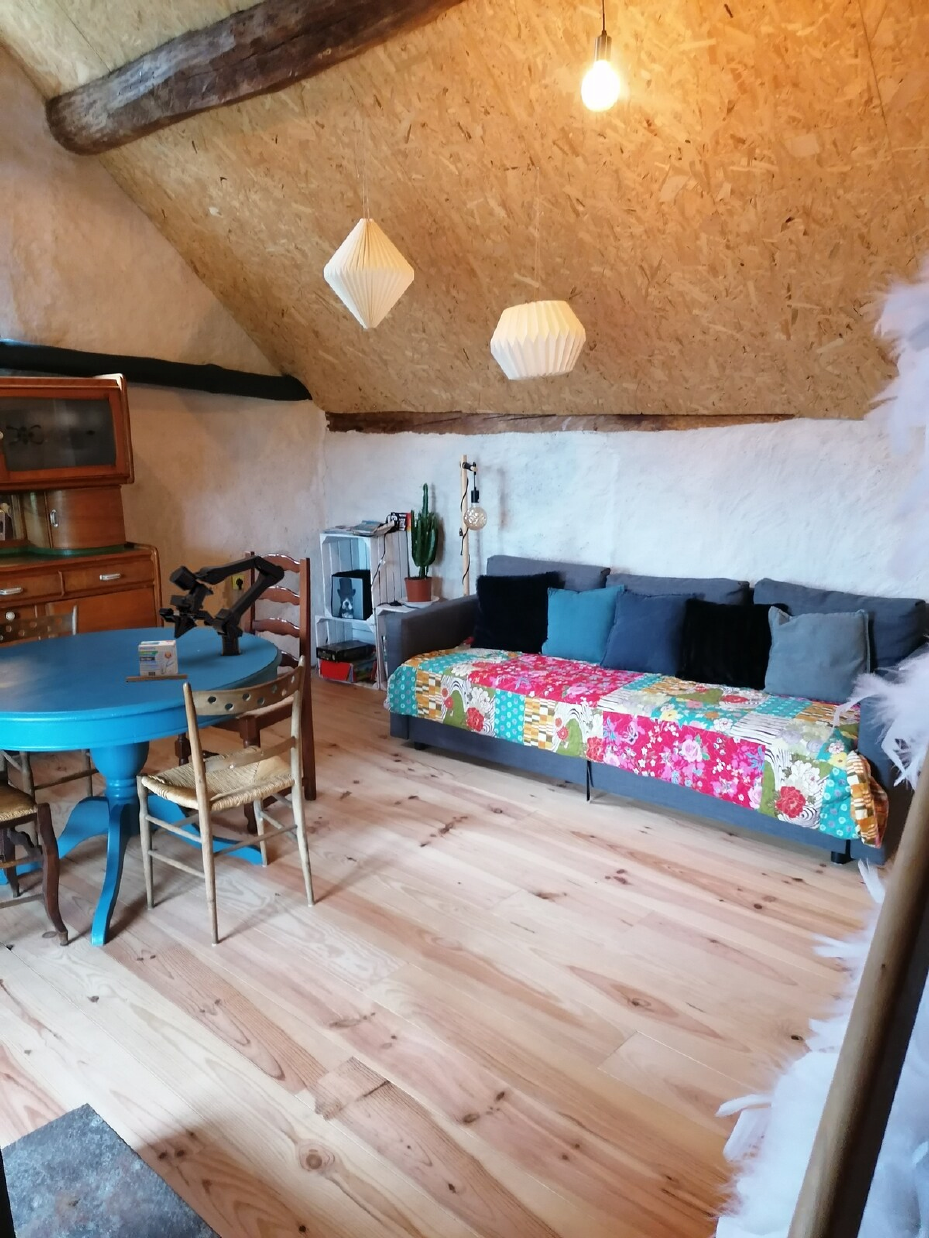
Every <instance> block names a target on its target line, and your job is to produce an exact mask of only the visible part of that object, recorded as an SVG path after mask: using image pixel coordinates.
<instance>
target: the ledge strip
mask: <svg viewBox="0 0 929 1238" xmlns="http://www.w3.org/2000/svg"><path fill="white" fill-rule="evenodd" d="M188 677H189V675H188V673H177V674H172V675H153V676H140V675H139V676H126V678H125V682H126V681H136V682H149V681H148V680H154V681H166V680H165V679H173V680H187V679H188ZM146 680H147V681H146Z"/></svg>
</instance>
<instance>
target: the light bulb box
mask: <svg viewBox="0 0 929 1238" xmlns="http://www.w3.org/2000/svg"><path fill="white" fill-rule="evenodd" d="M137 649H138V659H139V660H138V661H139V674H140V675H139V676H153V675H172V674H179V666H178V651H177V641H176V639H175V640H173V639H172V640H155V641H153V640H152V641H151V640H150V641H141V643H140V644H139V645H138V647H137Z"/></svg>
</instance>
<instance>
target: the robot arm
mask: <svg viewBox="0 0 929 1238" xmlns="http://www.w3.org/2000/svg"><path fill="white" fill-rule="evenodd" d="M252 569H255V570H256V571H257V572H258V574H257V575H258V576H257V579H256V580H255V582H254V583H253V584H251V586H250V587H249V588H248V589H247V590H246V591H245V592H244V593H243V594H242V595H241V596H240V597H239V598H238V600H237V601H235V603H234V604H233V605H232V606H231V607H230V608H228V609H226V608H220V609H219V611H218V612H217V614H214V615H211V613H210V612H209V611H208V610H205V609H204V605H203V603H204V601H205V599H206V597H208V596H213V595H214V594H215V593H214V591H213V589H212V586H216V585H219V584H220V583H222V582H223V581H225V580H226V579H227V578H228V577H232V576H233V575H237V574H240V573H243V572H246V571H250V570H252ZM285 573H286V572H285V569H284V567H283V566H281V565H278V564H274V563H272V562H271V561H268V560H267V559H265V558H264V557H262V556H261V555H255V554H251V555H250V556H247V557H244V558H241V559H237V560H235V561H231V562H228V563H226V564H225V563H224V564H220V565H208V566H202V567H201V568H200V569H199V571H195V572H192V571H191V570H190V569H188V567H187V566H185V565H180V567H179V568H177V569H175V570H174V571H172V572H171V574H170V575H169V578H168V579H169V582H170V583H172V585H175V586H176V587H177V588H178V589H179V590H181V591H182V592H186V591H188V592H187V593H186V594H185V595H178V594H171V595H170V600H169V605H171V606H175V609H176V610H177V611H176V610H174V609H173V608H172V607H164V606H163V607H160V608H159V610H158V611H157V615H159V616H160V618H161V619H162V620H163V621H164V622H165V623H168V624H174V632H173V638H174V639H175V640H176V639H177V640H178V639H180V638H181V637H182V636H184V635H185V634H187V633H188V632H190V631H191V630H193V629H194V628H197V627H198V625H197V624H198V622H199V621H203V625H204V626H205V627H212V628H213V630H214V631H215V632H216V633H217V635H218V636H221V647H222V648H221V652H220V656H233V655H234V656H237V655H240V654H241V652H242V649H241V648H240V640H239V638H242V637H243V635H244V630H243V629H242V628H240V627H239V625H240V623H241V619H242V617H243V616H244V615H245V613H246V612H248V610H249V609H250V608H251V607H252V606H253V605H254V603H255V602H256V601H257V600H258V599H259V598H260V597H261V596H263V594H264V593H265V592H266V590H269V588H271V587H274V586H275V585H277V584H278V583H280V582H281V581H282V580H284V579H285V577H286V575H285ZM207 585H211V586H209V587H208V586H207Z"/></svg>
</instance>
